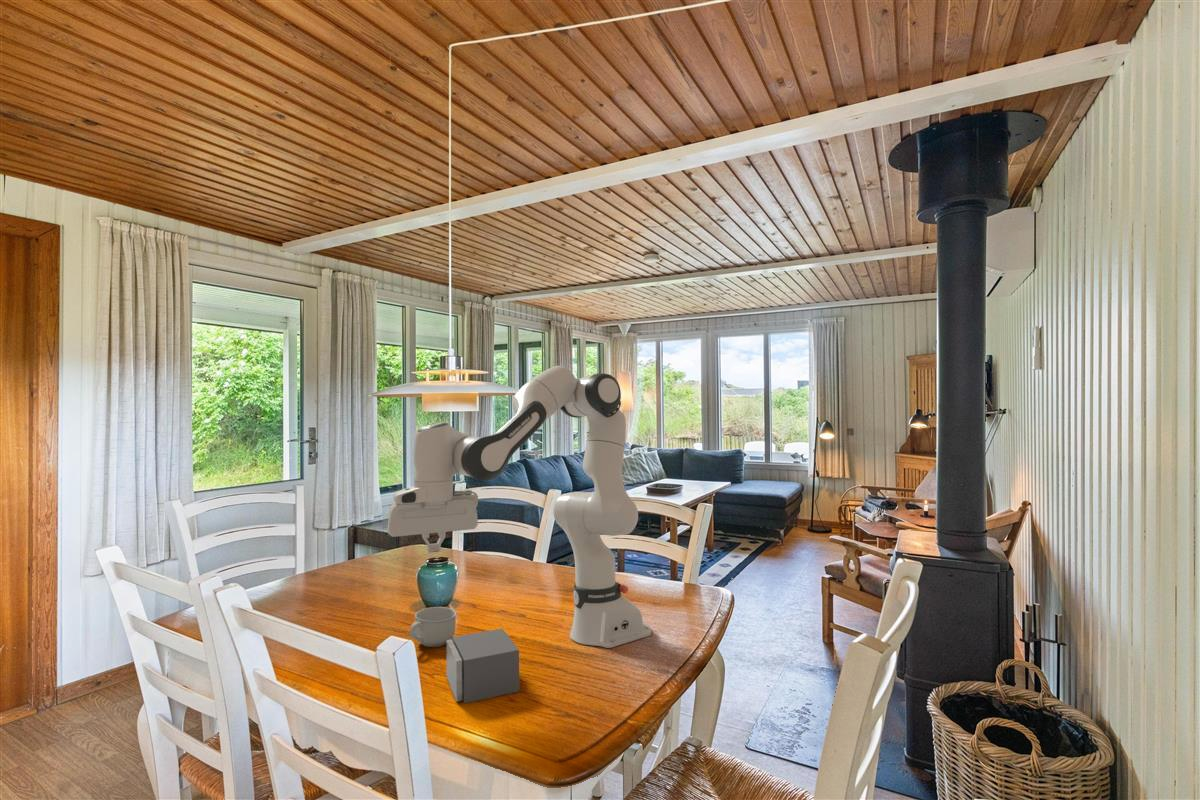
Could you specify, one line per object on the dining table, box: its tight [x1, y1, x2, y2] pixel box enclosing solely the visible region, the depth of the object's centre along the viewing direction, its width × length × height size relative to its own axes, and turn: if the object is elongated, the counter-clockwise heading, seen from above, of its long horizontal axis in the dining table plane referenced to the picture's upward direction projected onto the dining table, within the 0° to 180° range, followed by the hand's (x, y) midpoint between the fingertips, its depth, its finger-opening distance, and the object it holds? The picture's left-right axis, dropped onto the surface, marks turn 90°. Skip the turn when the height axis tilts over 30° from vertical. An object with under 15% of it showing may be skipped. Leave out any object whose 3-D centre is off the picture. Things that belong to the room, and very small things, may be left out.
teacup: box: [409, 606, 457, 648], centre depth 150 cm, size 14×11×8 cm
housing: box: [451, 628, 520, 704], centre depth 128 cm, size 12×14×9 cm
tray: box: [446, 638, 463, 703], centre depth 127 cm, size 12×12×8 cm
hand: (433, 551), depth 132 cm, fingers closed
